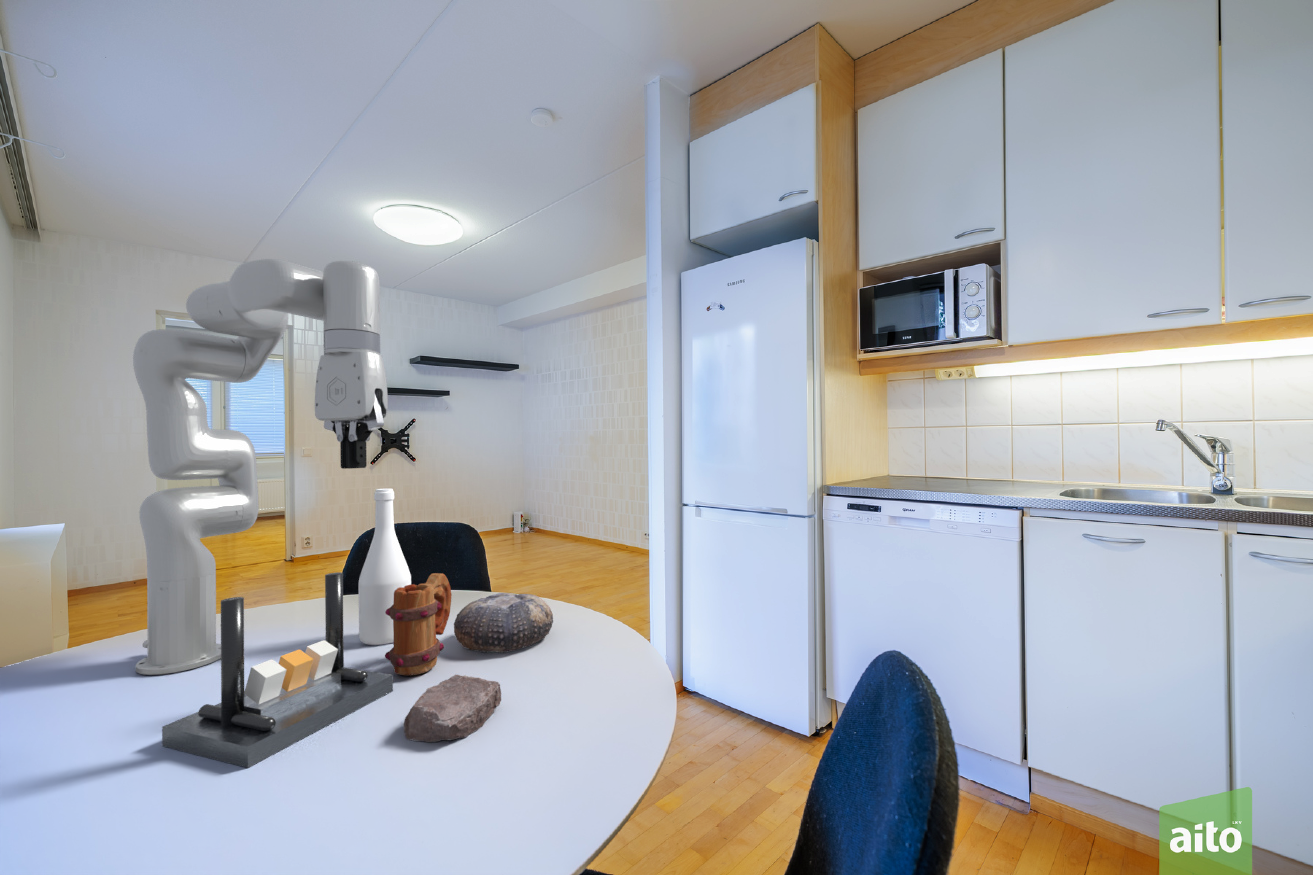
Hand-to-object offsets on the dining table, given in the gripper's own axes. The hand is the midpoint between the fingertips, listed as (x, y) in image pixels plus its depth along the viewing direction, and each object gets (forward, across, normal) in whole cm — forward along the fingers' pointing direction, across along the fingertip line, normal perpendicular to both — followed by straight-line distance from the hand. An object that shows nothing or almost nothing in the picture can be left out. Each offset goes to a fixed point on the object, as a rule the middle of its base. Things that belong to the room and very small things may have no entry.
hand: (353, 467), depth 84 cm
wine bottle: (+35, -19, +24) cm, 47 cm away
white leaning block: (+31, -6, -2) cm, 32 cm away
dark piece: (+35, -6, -6) cm, 36 cm away
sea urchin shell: (+36, +5, +30) cm, 47 cm away
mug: (+35, -1, +15) cm, 38 cm away
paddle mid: (+31, -6, -6) cm, 32 cm away
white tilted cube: (+31, -6, -10) cm, 33 cm away
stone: (+36, +18, 0) cm, 40 cm away
